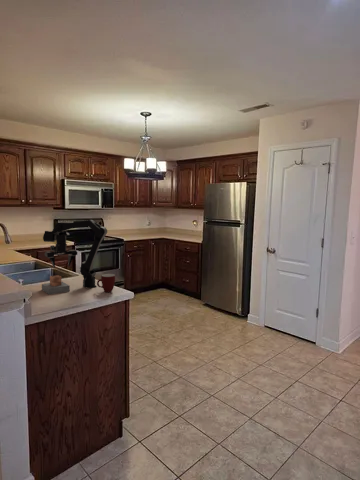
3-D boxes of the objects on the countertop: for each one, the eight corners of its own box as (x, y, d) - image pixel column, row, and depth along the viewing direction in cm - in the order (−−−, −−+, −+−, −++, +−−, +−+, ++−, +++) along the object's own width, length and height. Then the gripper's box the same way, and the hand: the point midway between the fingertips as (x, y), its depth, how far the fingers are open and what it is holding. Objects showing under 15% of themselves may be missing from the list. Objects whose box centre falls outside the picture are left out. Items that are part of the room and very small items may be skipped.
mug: (96, 293, 183) (96, 277, 181) (97, 290, 190) (97, 274, 189) (115, 293, 185) (115, 276, 184) (114, 289, 193) (115, 273, 192)
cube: (58, 283, 190) (58, 275, 189) (61, 285, 186) (61, 276, 186) (49, 284, 187) (49, 276, 186) (52, 286, 183) (52, 277, 182)
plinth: (61, 286, 195) (61, 281, 195) (69, 291, 186) (69, 285, 186) (41, 289, 187) (41, 284, 187) (48, 294, 178) (48, 288, 178)
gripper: (70, 240, 207) (70, 263, 209) (41, 241, 195) (41, 266, 196) (77, 242, 199) (77, 266, 200) (47, 243, 186) (47, 269, 188)
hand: (61, 266), depth 197 cm, fingers open, 9 cm apart
